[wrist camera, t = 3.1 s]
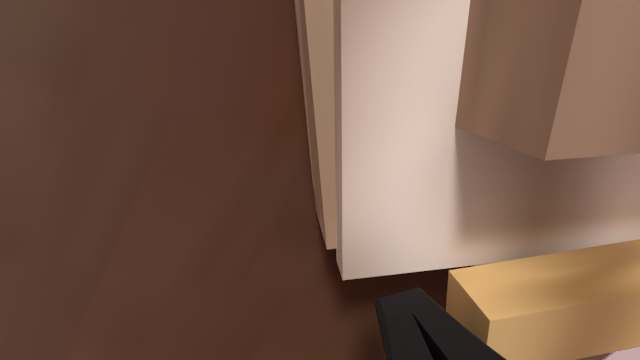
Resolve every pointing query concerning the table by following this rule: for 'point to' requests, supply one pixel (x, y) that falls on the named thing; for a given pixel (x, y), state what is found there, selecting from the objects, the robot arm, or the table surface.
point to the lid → (483, 130)
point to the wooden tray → (319, 105)
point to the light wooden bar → (552, 303)
